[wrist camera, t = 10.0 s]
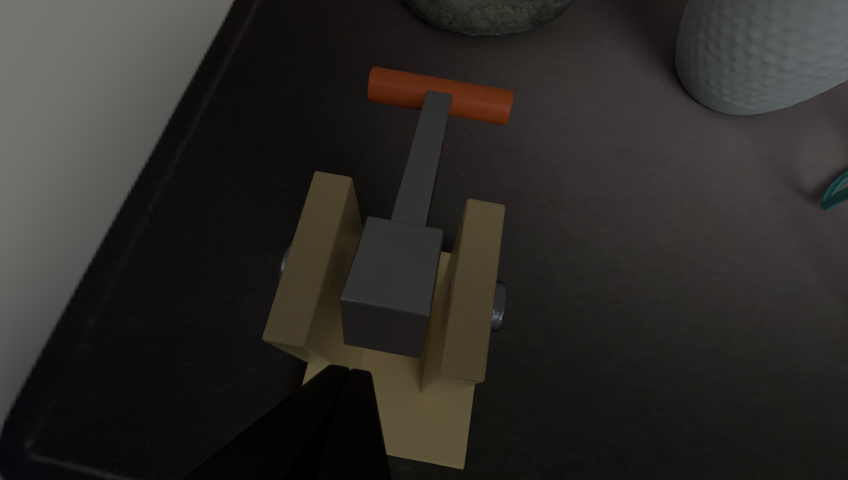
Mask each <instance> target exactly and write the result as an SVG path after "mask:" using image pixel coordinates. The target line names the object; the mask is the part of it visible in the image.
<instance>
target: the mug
mask: <svg viewBox="0 0 848 480" xmlns="http://www.w3.org/2000/svg"><path fill="white" fill-rule="evenodd" d="M675 65H676V71H677V74H678V77H679V79H680V81H681V84H682V85H683V87H684V88H685V89H686V91H687V92H688V93H689V94H690V95H691V96H692V97H693V98H694V99H695V100H697V101H698V102H699V103H701V104H702V105H704V106H705V107H708V108H710V109H712V110H714V111H717V112H720V113H724V114H730V115H754V114H761V113H766V112H770V111H775V110H778V109H781V108H787V107H790V106H792V105H794V104H796V103H798V102H803V101H805V100H807V99H810V98H811V97H813V96H815V95H818V94H820V93H822V92H826V91H828V90H829V89H831V88H832V87H835V86H837V85H838V84H840V83H843V82H845V81H847V80H848V0H688V3H687V5H686V7H685V10H684V12H683V16H682V19H681V23H680V25H679V30H678V35H677V37H676V49H675Z"/></svg>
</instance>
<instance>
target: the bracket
mask: <svg viewBox="0 0 848 480" xmlns="http://www.w3.org/2000/svg"><path fill="white" fill-rule="evenodd" d="M504 213H505V206H504V205H501V204H495V203H490V202H484V201H479V200H473V199H468V200H467V201H466V205H465V208H464V211H463V215H462V218H461V221H460V224H459V228H458V231H457V234H456V238H455V241H454V244H453V247H452V251H451V253H446V252H441V256H440V262H439V268H438V274H437V280H436V286H435V292H434V298H433V305H432V311H431V316H430V321H429V325H428V330H427V335H426V339H425V344H424V348H423V353H422V357H421V358H420V359H418V358H413V357H407V356H402V355H397V354H392V353H386V352H381V351H376V350H371V349H365V348H360V347H355V346H349V345H345V344H344V340H343V330H342V319H341V309H340V295H341V292H342V289H343V286H344V283H345V280H346V277H347V274H348V271H349V268H350V265H351V262H352V259H353V256H354V253H355V250H356V247H357V244H358V241H359V238H360V235H361V232H362V229H363V226H362V222H361V217H360V212H359V208H358V203H357V199H356V194H355V190H354V185H353V181H352V178H351V177H346V176H341V175H335V174H330V173H324V172H319V171H315V173H314V176H313V179H312V182H311V186H310V189H309V192H308V195H307V198H306V201H305V205H304V208H303V211H302V214H301V217H300V220H299V224H298V227H297V230H296V233H295V236H294V239H293V242H292V244H291V245H290V246H289V247H288V248H287V250H286V252H285V254H284V256H283V259H282V262H281V266H280V271H279V287H278V290H277V293H276V296H275V299H274V303H273V306H272V309H271V312H270V315H269V318H268V322H267V325H266V328H265V331H264V334H263V337H262V339H263V340H264V341H265V342H267V343H269V344H271V345H273V346H275V347H277V348H279V349H281V350H283V351H285V352H287V353H289V354H291V355H294V356H296V357H298V358H300V359H302V360H304V361H306V362H308V365H307V369H306V373H305V376H304V380H303V384H305V383H306V382H307V381H309V380H310V379H311V378H312V377H314V376H315V375H316V374H317V373H319V372H320V371H321V370H323V369H324V368H325V367H326V366H328V365H330V364H335V365H340V366H346V367H348V368H349V369H350V370H351V369H353V368H356V369H361V370H367V371H370V372H371V374H372V377H373V383H374V388H375V394H376V399H377V404H378V410H379V415H380V421H381V426H382V431H383V437H384V442H385V448H386V453H387V455H392V456H397V457H402V458H407V459H413V460H418V461H423V462H428V463H433V464H438V465H443V466H448V467H454V468H459V469H463V468H464V464H465V456H466V449H467V441H468V433H469V425H470V417H471V409H472V401H473V394H474V386H475V384H478V383H481V382H483V381H484V380H485V372H486V363H487V355H488V347H489V338H490V331H491V332H498V330H499V329H500V327H501V324H502V321H503V317H504V312H505V307H506V298H507V288H506V284H505V282H502V281H497V271H498V263H499V255H500V246H501V238H502V230H503V221H504ZM303 384H302V385H303Z"/></svg>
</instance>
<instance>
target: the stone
mask: <svg viewBox="0 0 848 480" xmlns="http://www.w3.org/2000/svg"><path fill="white" fill-rule="evenodd" d="M404 1H405V2H406V4H407V5H408V7H409V8H410V10H411V11H413V12H414V13H416V14H417V15H418V16H419V17H420V18H421V19H422V20H424V21H426V22H428V23H430V24H432V25H434V26H437V27H439V28H443V29H447V30H450V31H451V32H455V31H456V32H461V33H464V34H465V35H470V36H477V35H504V34H509V33H521V32H525V31H532V30H534V29H535V28H537V27H539V26H541V25H544V24H546V23H548V22H550V21H552V20H554V19H555V18H557V17H559V16H560V15H561V14H563V13H564V12H565V11H566V10H567V9H568V8H569V7H570V6H571V5H572V4H573V3H574V2H575V1H576V0H404Z"/></svg>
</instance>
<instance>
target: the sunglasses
mask: <svg viewBox="0 0 848 480" xmlns="http://www.w3.org/2000/svg"><path fill="white" fill-rule="evenodd" d="M846 181H848V171H847V172H845V173H844V174H842V175H841V176H840V177H838V178H837V179H836V180H834V181H833V182H832V184H831V185H830V186H829V187H828V188H827V190H826V191H825V193H824V194H823V195H822V198H821V202H820V205H821V206H822V207H821V208H822V209H824V210H825V211H828V210H830V209H831V208H833V207H835V206H837V205H838V204H840V203H842V202H844V201H846V200H848V187H846V188H844V189H843V190H841V191H839V192H837V193H836V191H837V190H838V189H839V188H840V187H841V186H842V185H843V184H844V183H845V182H846Z"/></svg>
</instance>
